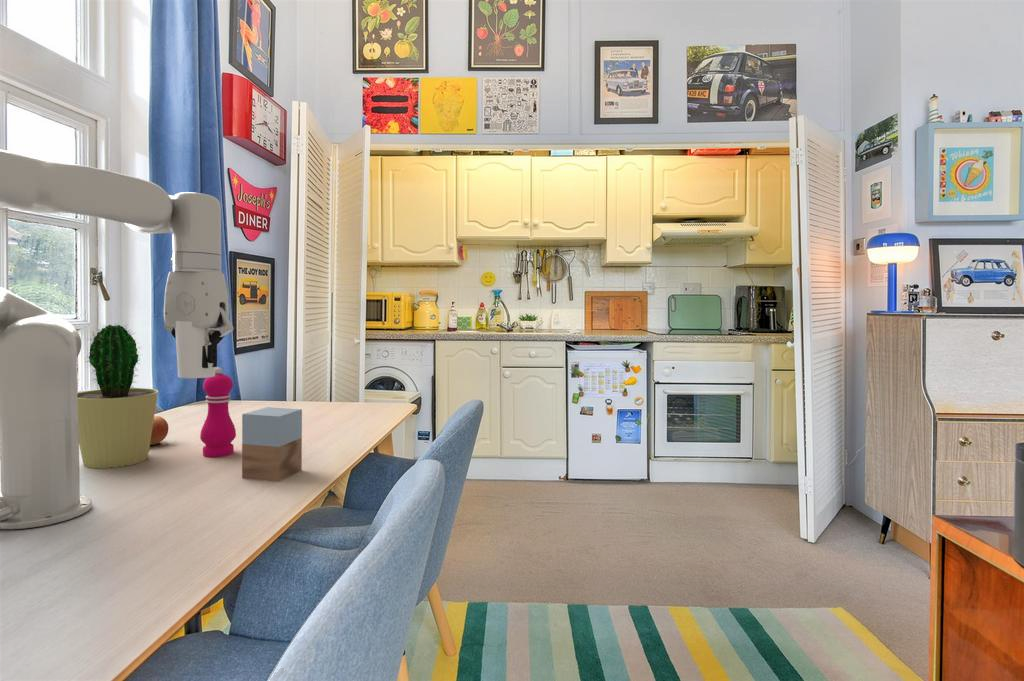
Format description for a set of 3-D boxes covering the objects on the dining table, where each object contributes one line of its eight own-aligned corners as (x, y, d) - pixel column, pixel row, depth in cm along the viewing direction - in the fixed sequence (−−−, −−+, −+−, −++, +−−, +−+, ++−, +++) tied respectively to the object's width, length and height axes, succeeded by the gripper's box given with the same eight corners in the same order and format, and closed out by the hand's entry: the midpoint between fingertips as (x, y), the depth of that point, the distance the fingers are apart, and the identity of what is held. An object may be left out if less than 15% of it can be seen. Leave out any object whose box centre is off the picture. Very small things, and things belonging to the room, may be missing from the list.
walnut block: (278, 482, 107) (278, 446, 107) (242, 478, 109) (242, 444, 108) (301, 470, 115) (301, 437, 115) (267, 467, 117) (267, 435, 116)
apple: (119, 447, 129) (119, 413, 129) (150, 439, 137) (150, 408, 136) (145, 450, 127) (145, 416, 127) (175, 442, 135) (175, 410, 134)
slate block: (278, 446, 107) (278, 416, 107) (242, 443, 108) (242, 413, 108) (301, 437, 115) (301, 409, 114) (267, 435, 116) (267, 407, 116)
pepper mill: (225, 458, 122) (225, 369, 121) (193, 457, 122) (192, 368, 121) (241, 450, 129) (241, 366, 128) (211, 449, 130) (211, 365, 128)
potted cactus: (175, 455, 124) (174, 322, 122) (109, 474, 109) (107, 323, 107) (123, 448, 128) (121, 320, 126) (52, 466, 113) (49, 321, 111)
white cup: (208, 373, 104) (207, 320, 103) (224, 376, 99) (224, 321, 99) (168, 375, 98) (168, 320, 98) (184, 379, 94) (183, 321, 94)
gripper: (140, 262, 96) (142, 367, 97) (222, 263, 92) (223, 371, 93) (174, 266, 103) (176, 363, 104) (252, 266, 100) (253, 366, 101)
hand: (198, 365), depth 99 cm, fingers closed on white cup, 3 cm apart
